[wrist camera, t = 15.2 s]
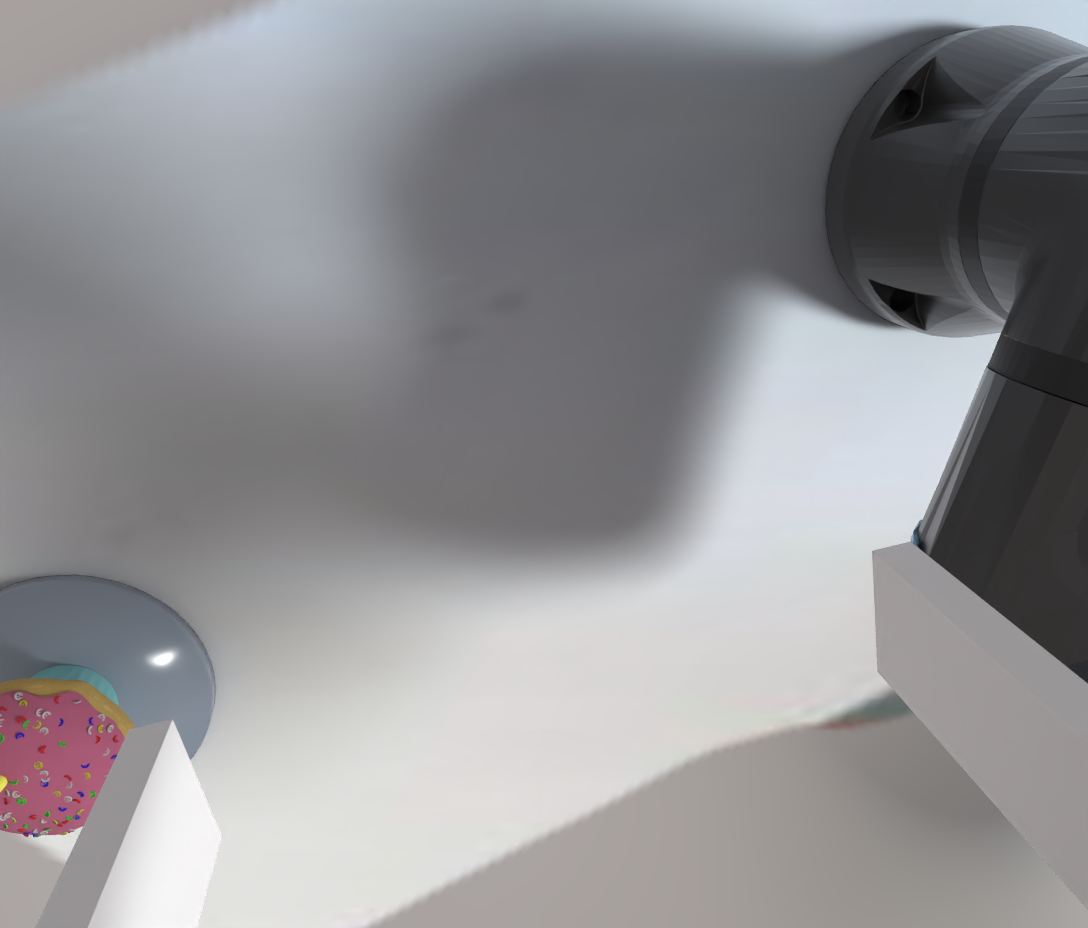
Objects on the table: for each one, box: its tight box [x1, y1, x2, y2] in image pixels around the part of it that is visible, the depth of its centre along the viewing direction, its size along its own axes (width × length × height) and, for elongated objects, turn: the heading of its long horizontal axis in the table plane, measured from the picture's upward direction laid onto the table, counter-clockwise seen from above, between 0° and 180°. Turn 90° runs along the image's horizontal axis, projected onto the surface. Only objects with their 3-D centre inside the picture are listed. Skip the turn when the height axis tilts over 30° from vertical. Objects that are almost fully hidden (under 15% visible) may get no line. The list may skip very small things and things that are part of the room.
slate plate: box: [0, 575, 216, 760], centre depth 47 cm, size 14×14×1 cm
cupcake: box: [0, 665, 135, 837], centre depth 41 cm, size 9×8×12 cm
